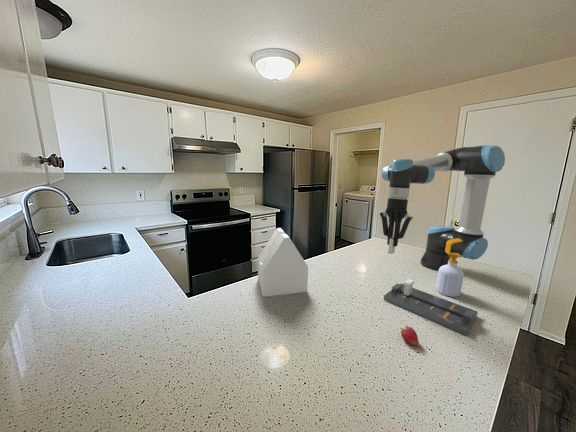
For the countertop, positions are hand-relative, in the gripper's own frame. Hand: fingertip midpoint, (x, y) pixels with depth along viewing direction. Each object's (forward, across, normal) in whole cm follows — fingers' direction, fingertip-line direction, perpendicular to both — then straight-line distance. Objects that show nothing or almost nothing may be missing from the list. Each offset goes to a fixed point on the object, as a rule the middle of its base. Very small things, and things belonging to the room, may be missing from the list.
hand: (391, 252), depth 100 cm
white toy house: (+18, -33, -33) cm, 50 cm away
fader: (+15, +9, 0) cm, 18 cm away
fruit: (+18, +19, -25) cm, 37 cm away
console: (+18, +17, 0) cm, 24 cm away
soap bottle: (+18, +18, +21) cm, 33 cm away
